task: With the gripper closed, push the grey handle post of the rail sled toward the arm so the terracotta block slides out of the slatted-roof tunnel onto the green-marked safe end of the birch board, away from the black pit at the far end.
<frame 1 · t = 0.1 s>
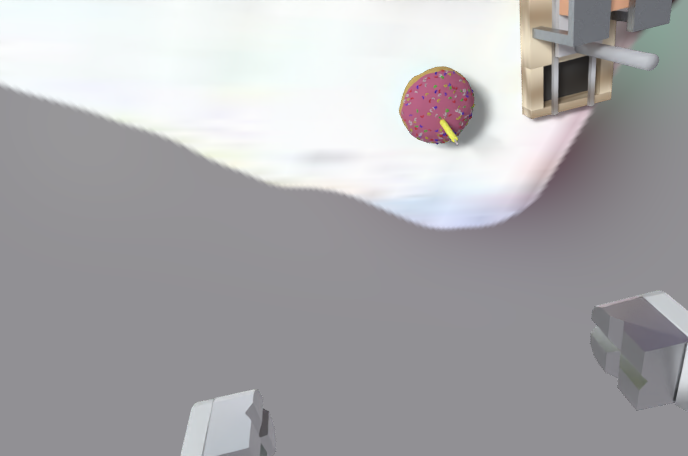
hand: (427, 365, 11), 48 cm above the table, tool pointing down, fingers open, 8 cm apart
cupcake: (425, 97, 56), on the table
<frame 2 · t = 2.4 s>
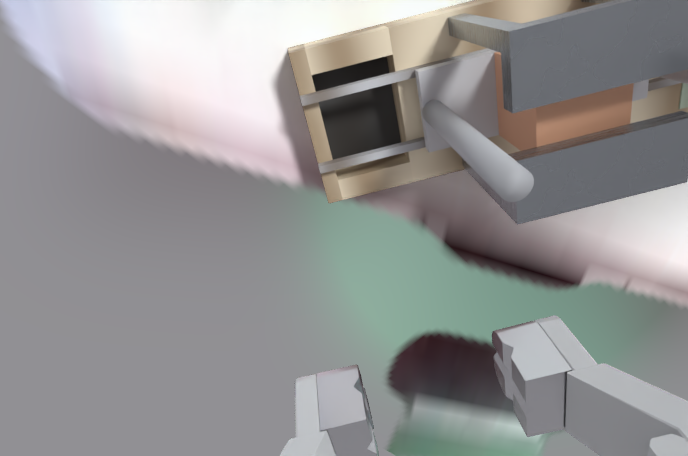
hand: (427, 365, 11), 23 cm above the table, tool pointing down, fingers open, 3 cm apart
sled: (587, 106, 23), point 9 cm above the table, slide at 0.0 cm
board: (530, 67, 31), on the table
tunnel: (508, 73, 31), resting on board
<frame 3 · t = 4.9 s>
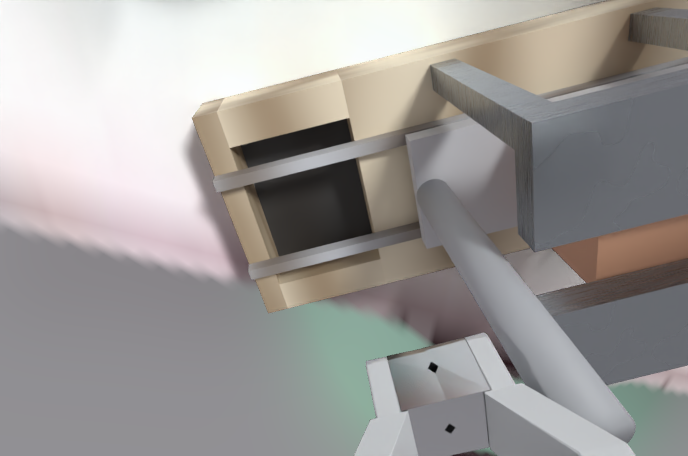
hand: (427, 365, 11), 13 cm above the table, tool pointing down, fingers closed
sled: (684, 214, 14), point 9 cm above the table, slide at -1.0 cm, touching gripper
board: (548, 125, 22), on the table
tunnel: (518, 133, 22), resting on board
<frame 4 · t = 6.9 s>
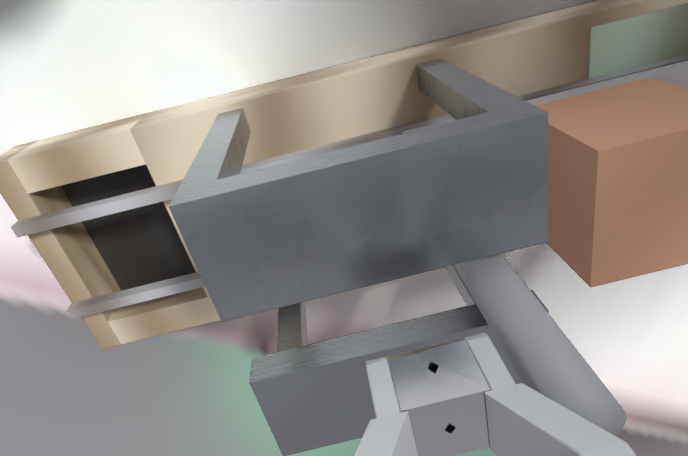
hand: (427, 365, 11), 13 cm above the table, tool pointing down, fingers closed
sled: (679, 210, 14), point 9 cm above the table, slide at -9.4 cm, touching gripper
board: (377, 165, 22), on the table
tunnel: (347, 172, 22), resting on board
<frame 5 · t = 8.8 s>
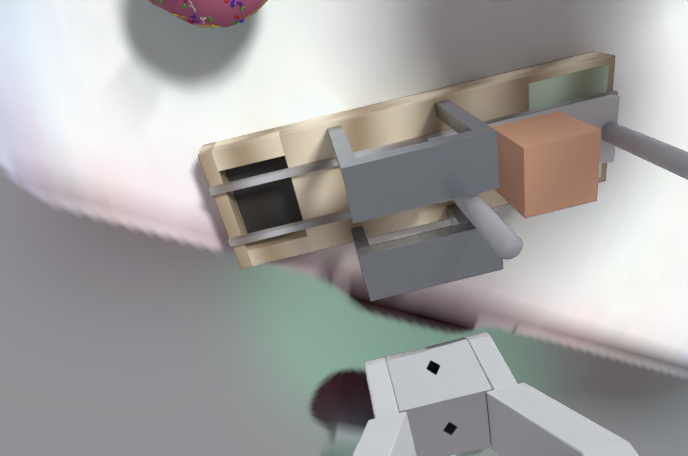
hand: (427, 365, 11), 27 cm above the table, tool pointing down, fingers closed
sled: (564, 177, 29), point 9 cm above the table, slide at -9.4 cm
board: (408, 158, 38), on the table
tunnel: (390, 162, 38), resting on board
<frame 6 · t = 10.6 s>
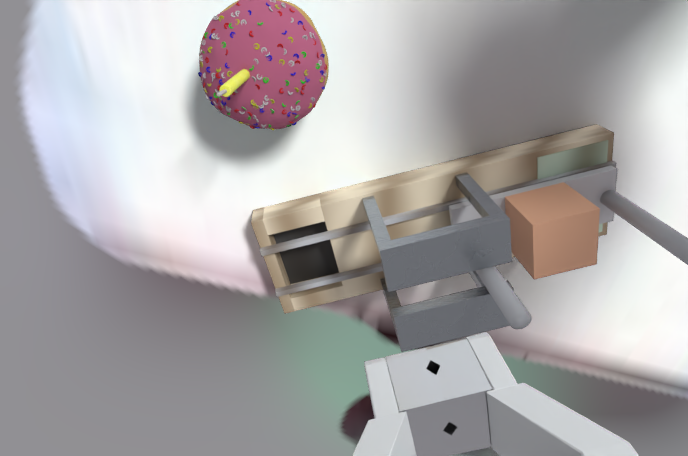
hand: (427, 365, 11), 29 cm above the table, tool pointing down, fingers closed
sled: (567, 247, 34), point 9 cm above the table, slide at -9.4 cm
cupcake: (267, 56, 35), on the table
board: (430, 216, 43), on the table
tunnel: (415, 220, 43), resting on board
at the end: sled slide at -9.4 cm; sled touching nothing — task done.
